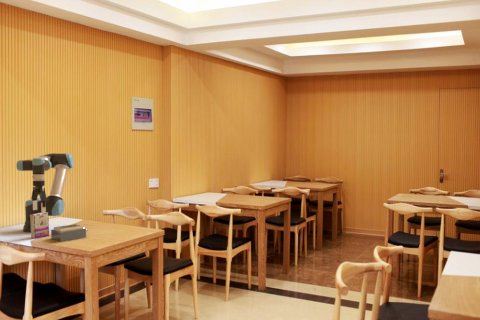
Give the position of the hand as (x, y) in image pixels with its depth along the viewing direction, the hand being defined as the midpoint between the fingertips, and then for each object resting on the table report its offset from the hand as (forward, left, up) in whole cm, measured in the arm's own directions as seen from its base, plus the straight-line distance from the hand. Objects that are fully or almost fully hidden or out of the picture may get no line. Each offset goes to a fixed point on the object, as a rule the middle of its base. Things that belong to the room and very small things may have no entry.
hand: (39, 211), depth 315 cm
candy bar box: (0, 0, -18) cm, 18 cm away
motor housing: (+18, +15, -18) cm, 29 cm away
